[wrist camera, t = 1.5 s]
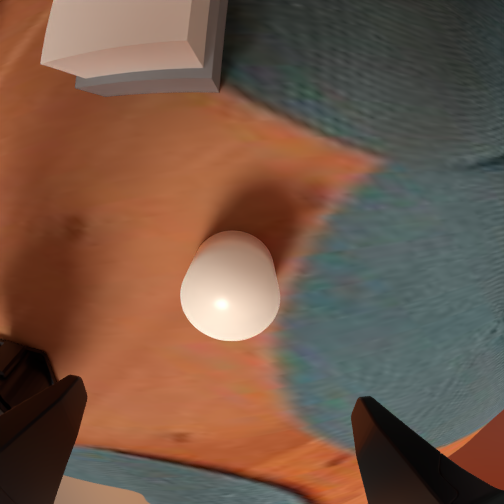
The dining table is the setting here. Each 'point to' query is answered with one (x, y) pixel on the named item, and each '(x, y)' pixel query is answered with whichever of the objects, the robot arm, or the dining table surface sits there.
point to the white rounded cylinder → (231, 287)
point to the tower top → (125, 36)
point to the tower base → (170, 78)
